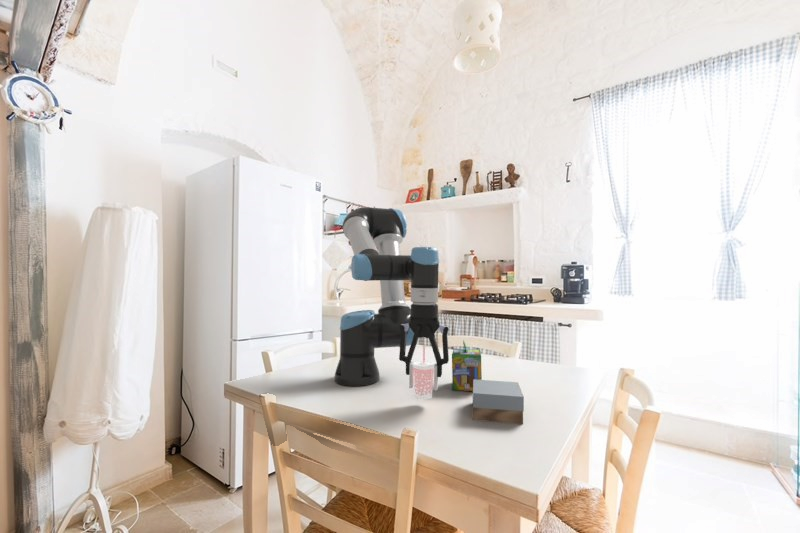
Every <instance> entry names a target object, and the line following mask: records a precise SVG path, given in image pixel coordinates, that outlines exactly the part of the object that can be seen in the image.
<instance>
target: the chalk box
mask: <svg viewBox="0 0 800 533" xmlns="http://www.w3.org/2000/svg"><path fill="white" fill-rule="evenodd" d="M462 343H463V348H453V349H452V353H451V373H452V375H451V378H452V379H451V381H452V391H453V392H454V391H458V392H459V391H462V392H473V379H475V380H483V379H482V376H483V375H482V352H481V350H480V349H473V348H467V345H466V342H465V340H464V339H463V341H462Z"/></svg>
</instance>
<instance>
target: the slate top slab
mask: <svg viewBox="0 0 800 533" xmlns="http://www.w3.org/2000/svg"><path fill="white" fill-rule="evenodd" d="M472 392H473V393H472V406H473V407H475V408H488V409H500V410H513V411H523V412H525V410H524V407H525V405H524V402H525V400H524V395H523V392H522V389H521V387H520V385H519V381H505V380H504V381H502V380H488V379H482V380H475V379H473V391H472Z"/></svg>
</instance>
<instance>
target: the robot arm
mask: <svg viewBox="0 0 800 533" xmlns="http://www.w3.org/2000/svg"><path fill="white" fill-rule="evenodd" d="M407 226H408V224H407V218H406V216H405V214H404V212H403V211H402V210H400V209H397V208H396V209H395V208H391V207H389V208H381V207H367V206H363V207H359V208H356V209H354V210H352V211H350V212H349V213H348V214H346V216H345V218H344V220H343V222H342V231H343V235H344V236H345V237H346V239H348V240H349V243H350V246H351V249H352V253H353V256H352V257H351V264H350V270H351V272H350V273H351V277H352V278H353V280H355V281H364V282H367V281H379V284H380V285H379V286H380V295H381V296H380V297H381V298H380V299H381V306H380V307H379V308H378V310H377V313H375V310H372V309H363V310H357V311H356V310H355V311H350V312H347V313H345V314H343V315H342V316H341V317H340V324H339V330H340V331H339V332H340V333H339V334H340V335H339V336H340V337H339V338H340V342H339V343H340V344H339V346H340V347H339V348H340V349H339V352H340V354H339V360H338V363H337V366H336V370H335V373H334V381H335V383H336V384H338V385H342V386H346V387H347V386H349V387H361V386H362V387H363V386H368V385H373V384H375V383H377V382H379V380H380V372H379V368H378V364H377V361H376V358H375V349H383V348H395V347H396V348H399V355H398V357H399V358H398V359H399V361H400V362H403V363H404V364H405V374H406V375H407V376H409V377H408V380H409V383H408V384H409V387H408V388H409V389H413V387H415V382H414V367H413V362H414V361H412V359H413V356H414V353H415V350H416V346H417V344H418V340H419V338H420V339H421V338H425V339H429V342H430V346H431V348H432V352H433V355H434V359H435V362H434V363H435V365H434V374H433V390H434V391H438V388H439V378H441V377H442V376H443V365H445V364H446V365H447V364H449V361H450V360H449V359H450V358H449V357H450V356H449V342H448V341H449V340H448V333H449V330H450V326H449V325H443V324H440V322H439V305H438V304H437V303H438V302H439V268H440V267H439V263H440V259H439V250H438V248H436V247H434V246H416V247H413V248H412V249H411V254H410V255H405V254H404V255H402V254H401V249H400V248H401V247H400V244H402V242H403V240H404V238H405V237H406V235H407V230H408V229H407ZM404 281H410V302H411V304H410V305H409V304H407V303H406V297H405V296H406V295H405V287H404ZM438 330H439V332H440V333H441V334H442V335H441V338H442V339H441V341H442V357H443V358H442V357H441V352H440V349H439V346H438V343H437V339H436V335H435V333H436V332H437V331H438ZM407 347H409V349H408V352H407V355H406V351H407Z"/></svg>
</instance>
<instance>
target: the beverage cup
mask: <svg viewBox="0 0 800 533" xmlns="http://www.w3.org/2000/svg"><path fill="white" fill-rule="evenodd" d="M422 348H423V349H422V360H416V361H412V362H413V367H414V396H415V398H416V399H419V400H429V399H432V397H433V389H434V365H435V363H436V362H433V361H429V360H425V359H426V358H425V357H426V346H425V344H423V346H422Z"/></svg>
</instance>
